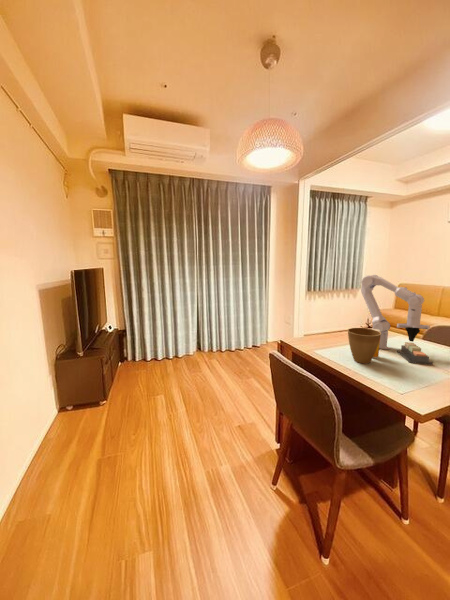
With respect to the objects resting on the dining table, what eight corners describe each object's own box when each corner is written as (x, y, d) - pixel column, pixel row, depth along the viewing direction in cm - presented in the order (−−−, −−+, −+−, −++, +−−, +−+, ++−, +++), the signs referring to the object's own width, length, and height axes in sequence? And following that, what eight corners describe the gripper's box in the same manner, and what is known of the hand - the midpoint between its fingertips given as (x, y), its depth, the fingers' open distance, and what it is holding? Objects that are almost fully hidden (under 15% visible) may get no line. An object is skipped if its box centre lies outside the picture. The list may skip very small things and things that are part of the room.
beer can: (380, 358, 130) (382, 331, 127) (367, 358, 131) (370, 331, 129) (375, 354, 136) (378, 328, 133) (363, 353, 137) (366, 328, 134)
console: (409, 362, 125) (410, 355, 124) (396, 351, 140) (397, 345, 139) (432, 365, 122) (433, 357, 121) (417, 353, 137) (418, 346, 137)
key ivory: (407, 349, 134) (408, 344, 134) (404, 347, 138) (404, 342, 137) (415, 350, 133) (416, 345, 132) (412, 347, 137) (413, 342, 136)
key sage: (411, 353, 129) (412, 347, 129) (408, 350, 133) (409, 345, 132) (420, 354, 128) (421, 348, 128) (416, 351, 132) (417, 345, 131)
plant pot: (372, 356, 133) (375, 328, 130) (382, 368, 119) (385, 336, 116) (342, 354, 137) (345, 326, 134) (348, 365, 123) (351, 334, 120)
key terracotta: (415, 359, 124) (416, 353, 124) (412, 356, 128) (413, 351, 128) (425, 360, 123) (426, 354, 123) (421, 357, 127) (422, 351, 127)
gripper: (401, 317, 131) (398, 342, 133) (433, 319, 127) (430, 344, 129) (396, 315, 137) (393, 338, 139) (426, 316, 133) (423, 340, 136)
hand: (411, 340), depth 135 cm, fingers closed
